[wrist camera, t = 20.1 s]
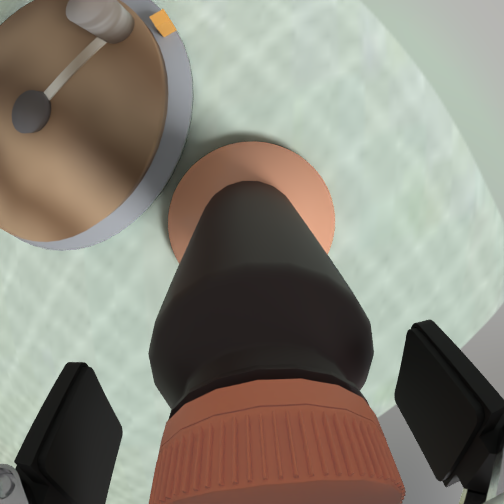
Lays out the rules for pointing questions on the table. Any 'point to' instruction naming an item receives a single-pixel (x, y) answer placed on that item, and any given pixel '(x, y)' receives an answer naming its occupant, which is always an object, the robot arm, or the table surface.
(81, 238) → the wheel base
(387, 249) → the table surface
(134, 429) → the table surface
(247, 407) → the vinegar
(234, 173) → the peach dome
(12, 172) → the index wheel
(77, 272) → the table surface
